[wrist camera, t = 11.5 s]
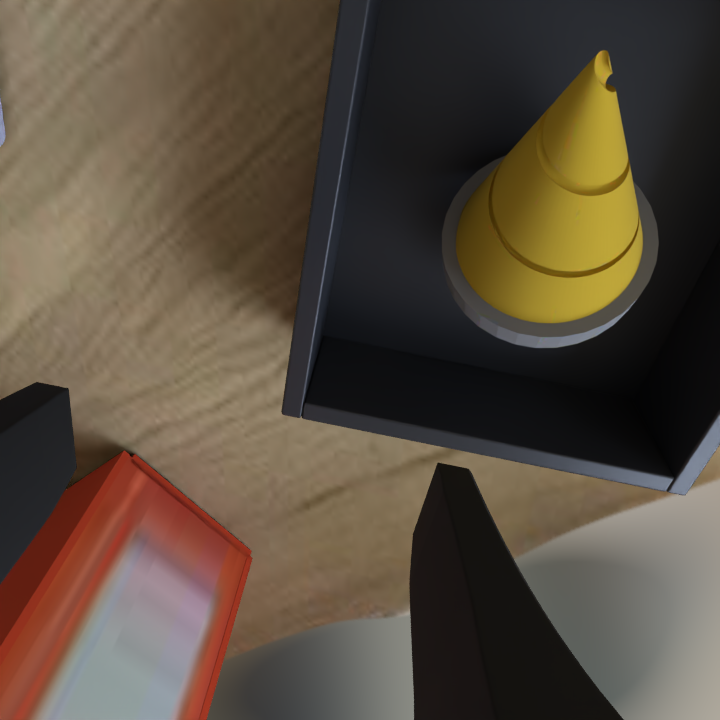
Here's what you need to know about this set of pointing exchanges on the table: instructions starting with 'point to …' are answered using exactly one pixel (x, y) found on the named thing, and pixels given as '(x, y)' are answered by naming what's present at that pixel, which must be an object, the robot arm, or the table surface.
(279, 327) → the table surface
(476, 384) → the bin
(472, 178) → the yellow traffic cone
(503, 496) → the table surface
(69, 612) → the file binder
